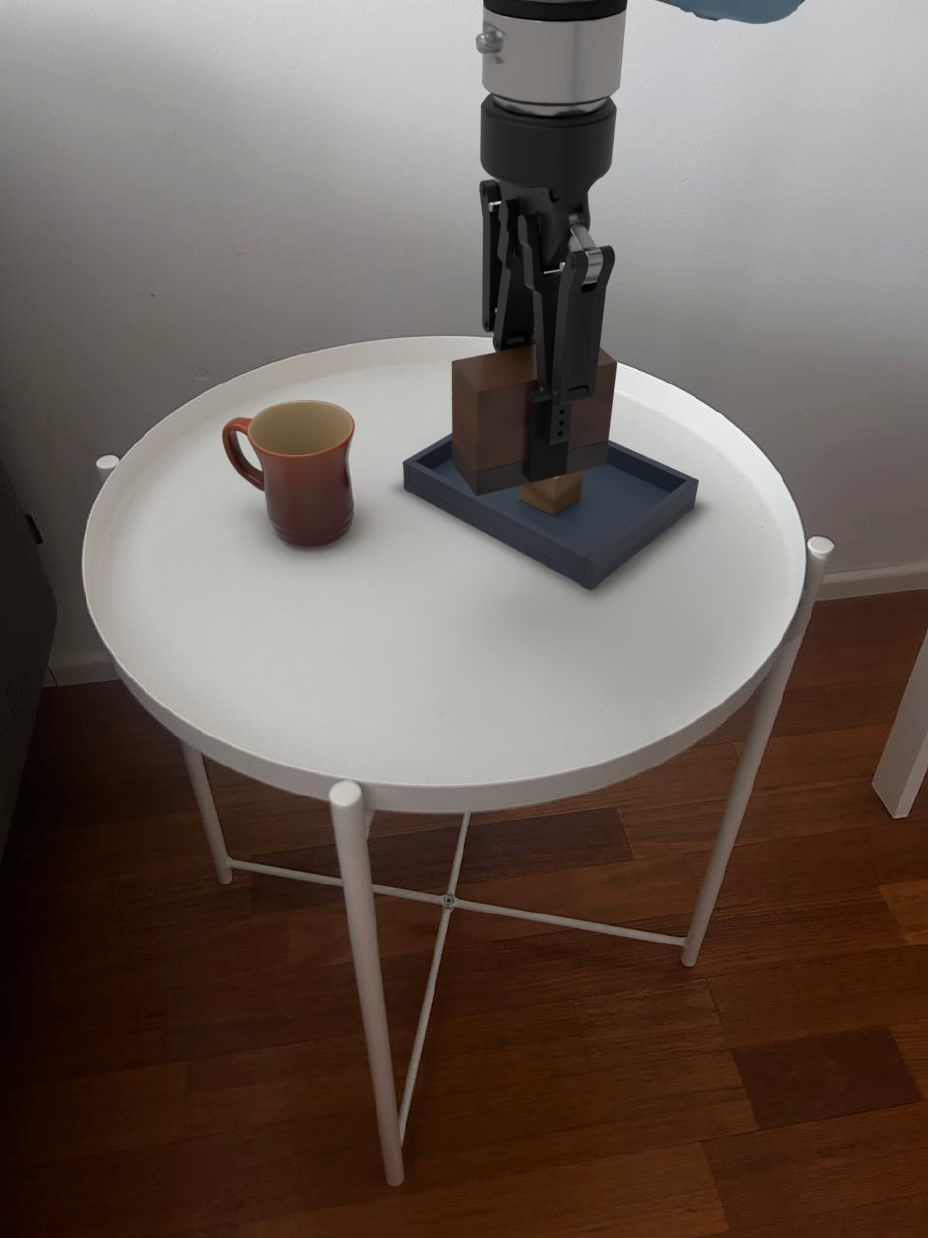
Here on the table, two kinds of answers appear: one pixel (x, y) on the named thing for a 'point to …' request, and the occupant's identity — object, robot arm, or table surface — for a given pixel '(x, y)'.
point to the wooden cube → (553, 492)
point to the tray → (566, 510)
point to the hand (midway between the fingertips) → (529, 455)
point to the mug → (299, 468)
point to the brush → (518, 418)
